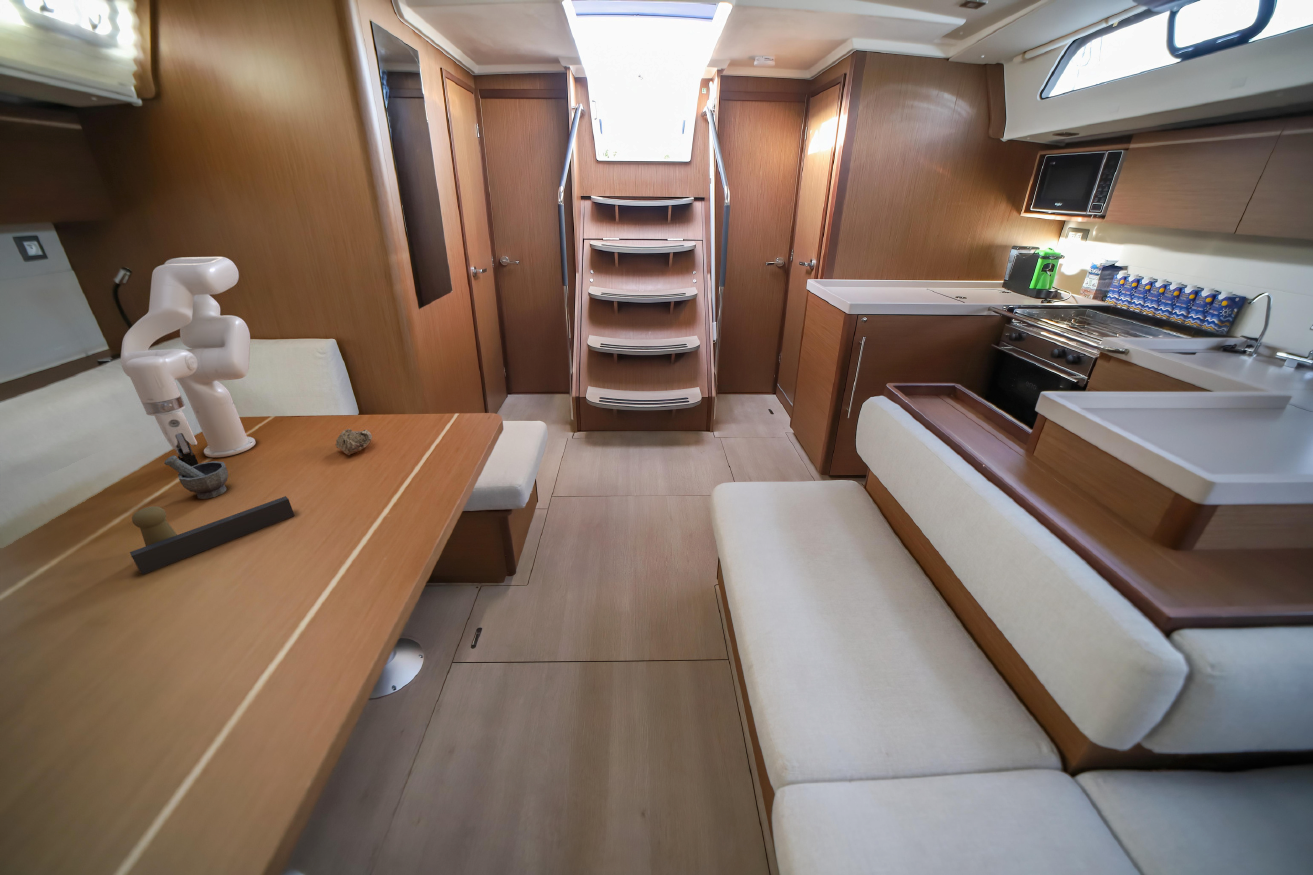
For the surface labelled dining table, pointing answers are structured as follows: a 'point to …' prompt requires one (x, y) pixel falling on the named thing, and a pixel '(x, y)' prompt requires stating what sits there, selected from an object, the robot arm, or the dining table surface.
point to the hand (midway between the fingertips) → (191, 468)
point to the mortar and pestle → (201, 477)
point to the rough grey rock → (353, 440)
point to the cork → (153, 524)
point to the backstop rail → (211, 535)
